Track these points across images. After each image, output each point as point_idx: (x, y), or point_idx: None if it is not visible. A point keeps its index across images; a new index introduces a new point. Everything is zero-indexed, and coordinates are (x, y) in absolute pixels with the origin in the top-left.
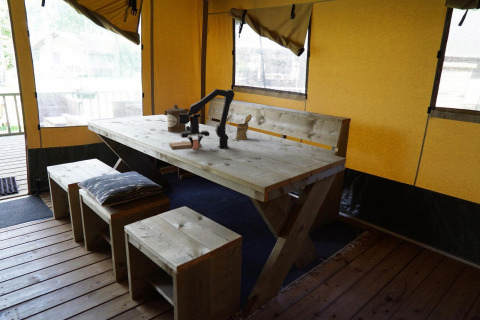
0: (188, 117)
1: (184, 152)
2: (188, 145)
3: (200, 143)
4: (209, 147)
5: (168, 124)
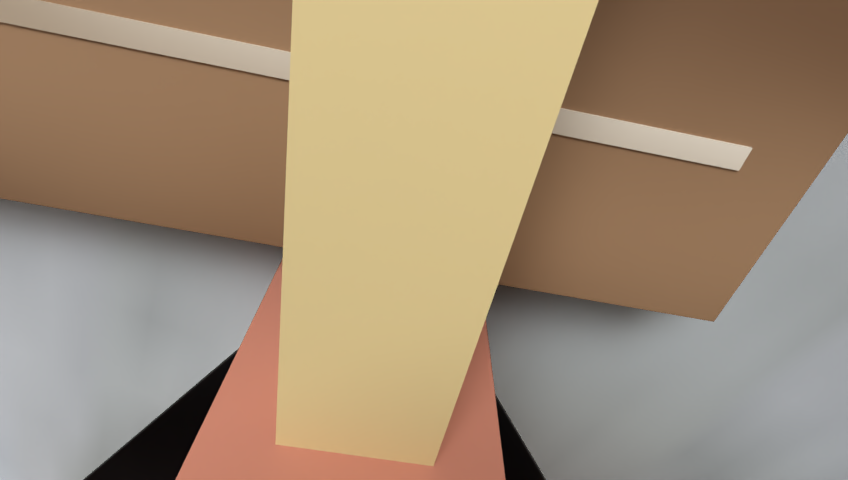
0: None
1: (23, 462)
2: (119, 206)
3: (778, 226)
4: (795, 397)
5: None
